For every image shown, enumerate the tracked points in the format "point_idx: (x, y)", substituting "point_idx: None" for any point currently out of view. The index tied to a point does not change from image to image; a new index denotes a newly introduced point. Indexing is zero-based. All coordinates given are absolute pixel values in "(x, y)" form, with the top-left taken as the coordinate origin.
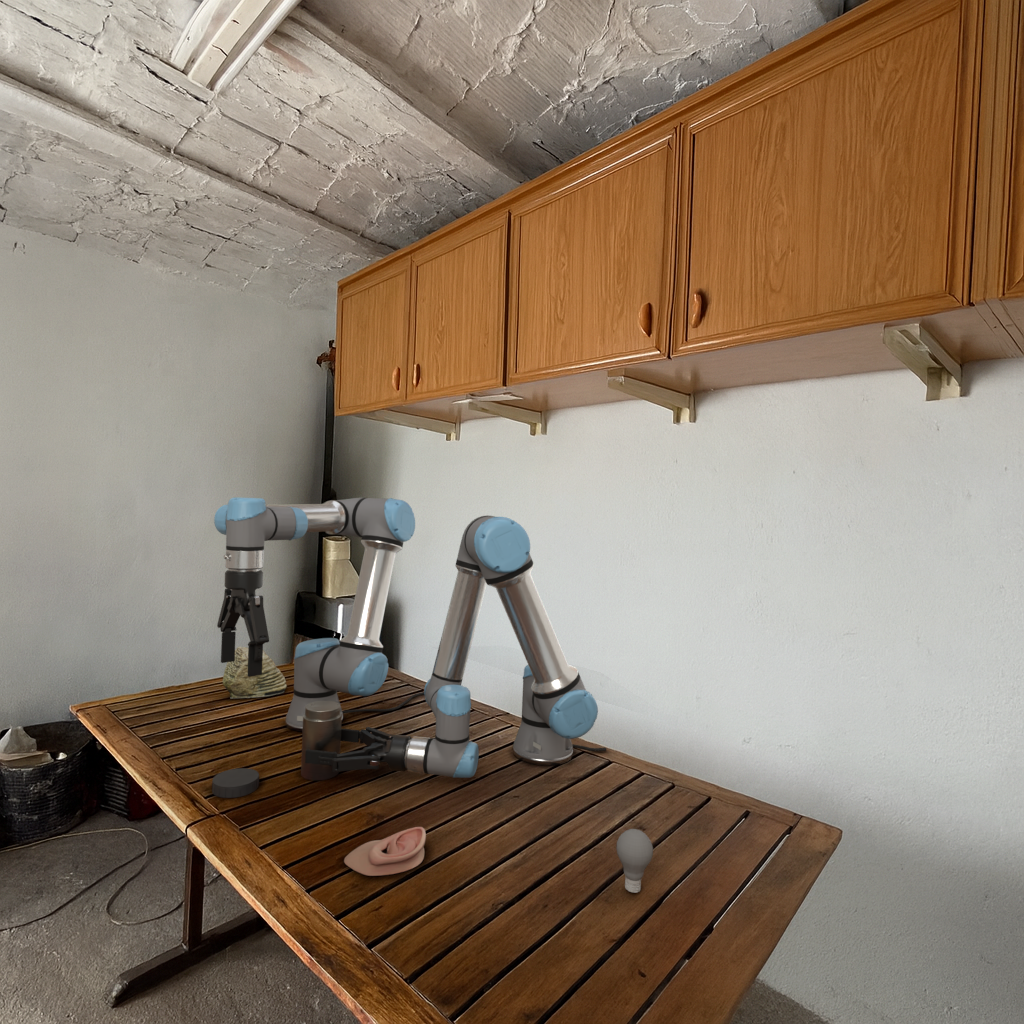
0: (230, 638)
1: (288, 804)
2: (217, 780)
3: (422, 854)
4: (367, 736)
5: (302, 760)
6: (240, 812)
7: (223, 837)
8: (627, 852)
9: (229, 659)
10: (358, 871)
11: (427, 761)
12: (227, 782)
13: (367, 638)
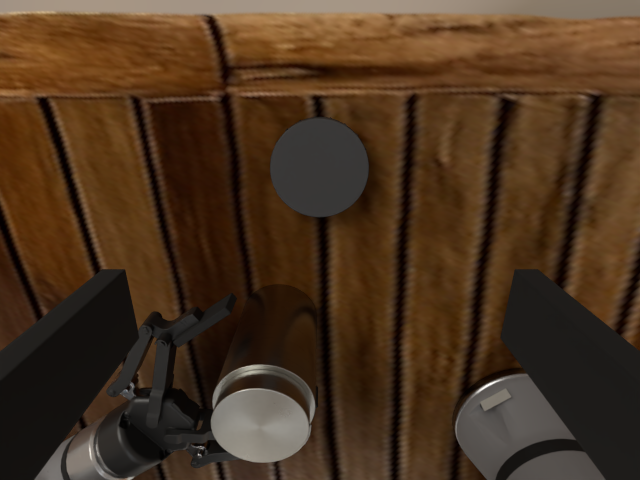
0: (619, 443)
1: (185, 213)
2: (329, 130)
3: None
4: None
5: (282, 301)
6: (205, 128)
7: (119, 56)
8: None
9: (513, 319)
10: None
11: (66, 444)
12: (305, 144)
13: None
